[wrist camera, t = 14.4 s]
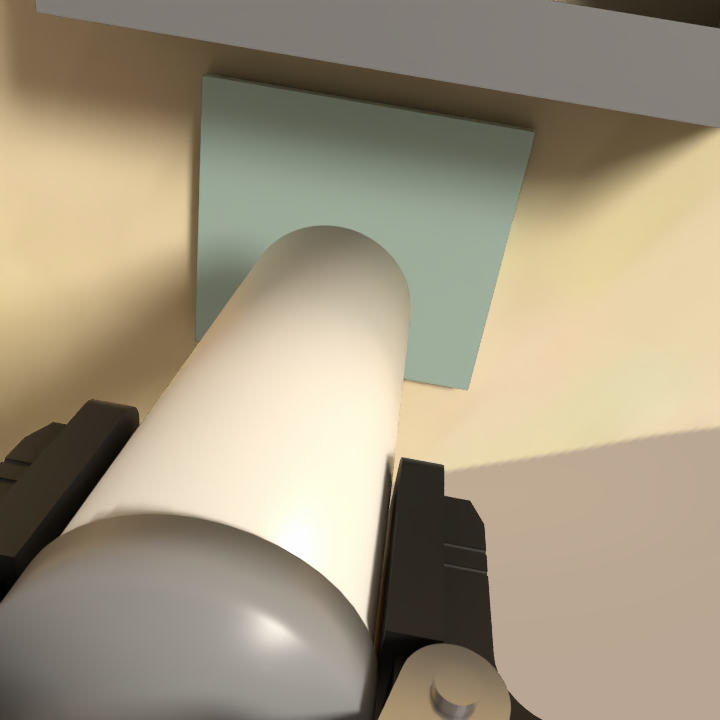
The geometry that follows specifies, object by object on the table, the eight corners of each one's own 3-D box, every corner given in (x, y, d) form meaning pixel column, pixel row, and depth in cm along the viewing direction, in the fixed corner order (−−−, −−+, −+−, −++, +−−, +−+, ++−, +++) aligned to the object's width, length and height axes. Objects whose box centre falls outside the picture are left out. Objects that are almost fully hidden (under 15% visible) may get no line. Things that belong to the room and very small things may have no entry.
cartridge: (240, 364, 19) (-8, 806, 9) (249, 207, 17) (-67, 545, 6) (399, 392, 19) (342, 877, 9) (429, 238, 17) (403, 634, 6)
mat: (200, 333, 25) (195, 340, 24) (208, 73, 21) (202, 75, 20) (467, 382, 25) (467, 390, 24) (533, 128, 20) (535, 132, 20)
